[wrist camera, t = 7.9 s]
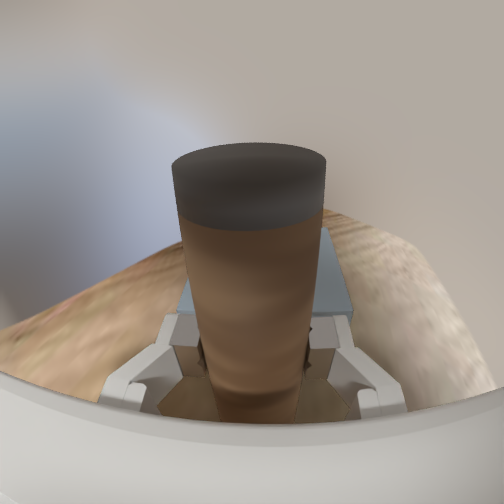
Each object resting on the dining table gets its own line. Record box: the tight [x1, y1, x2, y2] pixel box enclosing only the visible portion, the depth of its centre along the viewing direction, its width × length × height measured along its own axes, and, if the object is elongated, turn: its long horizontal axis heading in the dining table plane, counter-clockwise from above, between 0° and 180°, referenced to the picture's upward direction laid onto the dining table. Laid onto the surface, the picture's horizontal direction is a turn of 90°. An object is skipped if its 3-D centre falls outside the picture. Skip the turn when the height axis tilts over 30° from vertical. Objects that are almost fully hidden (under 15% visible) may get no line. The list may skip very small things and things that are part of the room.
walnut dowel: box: [172, 143, 326, 424], centre depth 11 cm, size 4×4×15 cm
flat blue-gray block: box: [176, 228, 353, 327], centre depth 24 cm, size 11×11×4 cm
